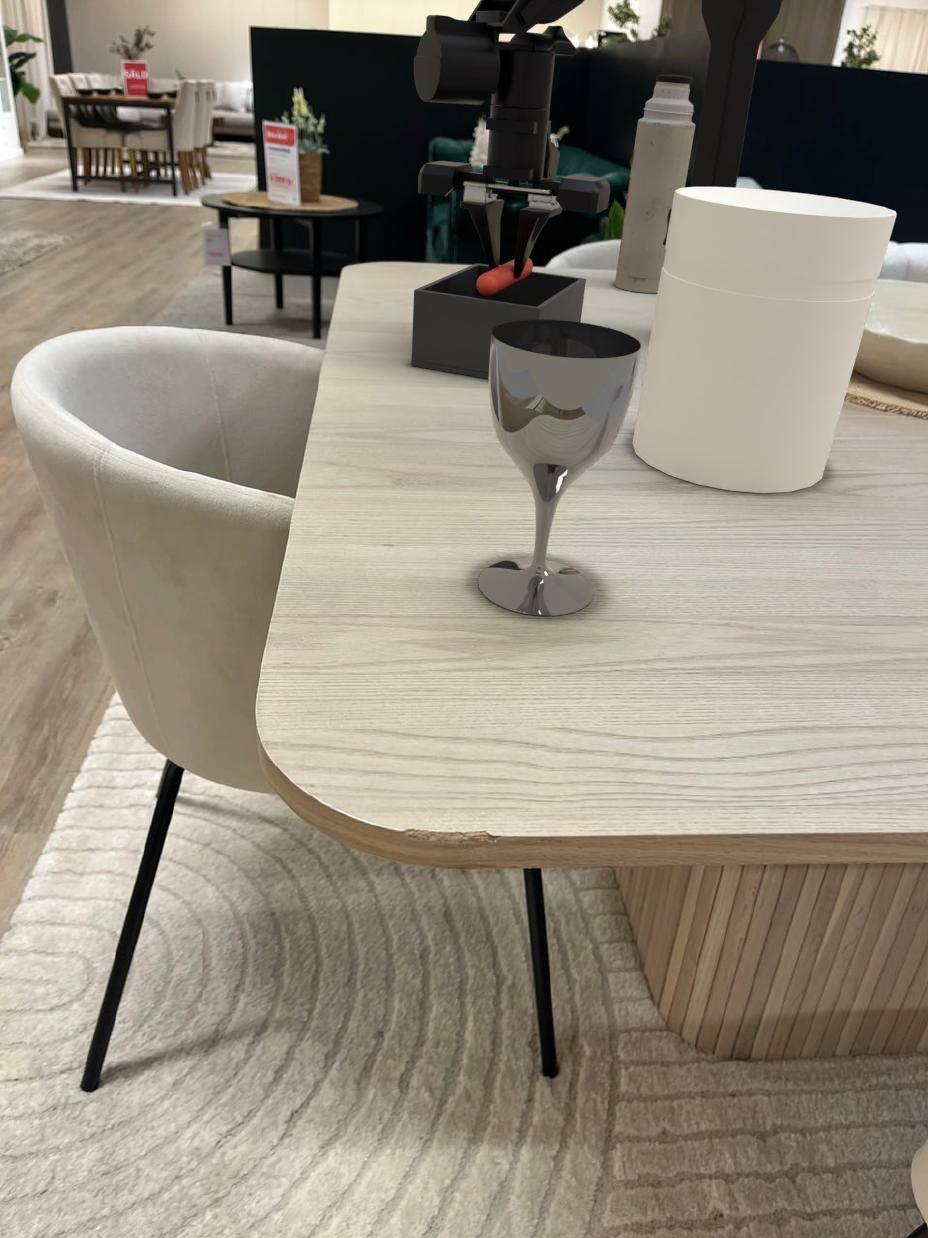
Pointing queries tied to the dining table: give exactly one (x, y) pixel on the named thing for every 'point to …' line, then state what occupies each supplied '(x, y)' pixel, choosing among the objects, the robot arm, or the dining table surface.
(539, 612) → the wine glass
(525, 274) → the sausage
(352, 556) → the dining table surface
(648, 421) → the canister
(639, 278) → the thermos bottle
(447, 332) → the bin
